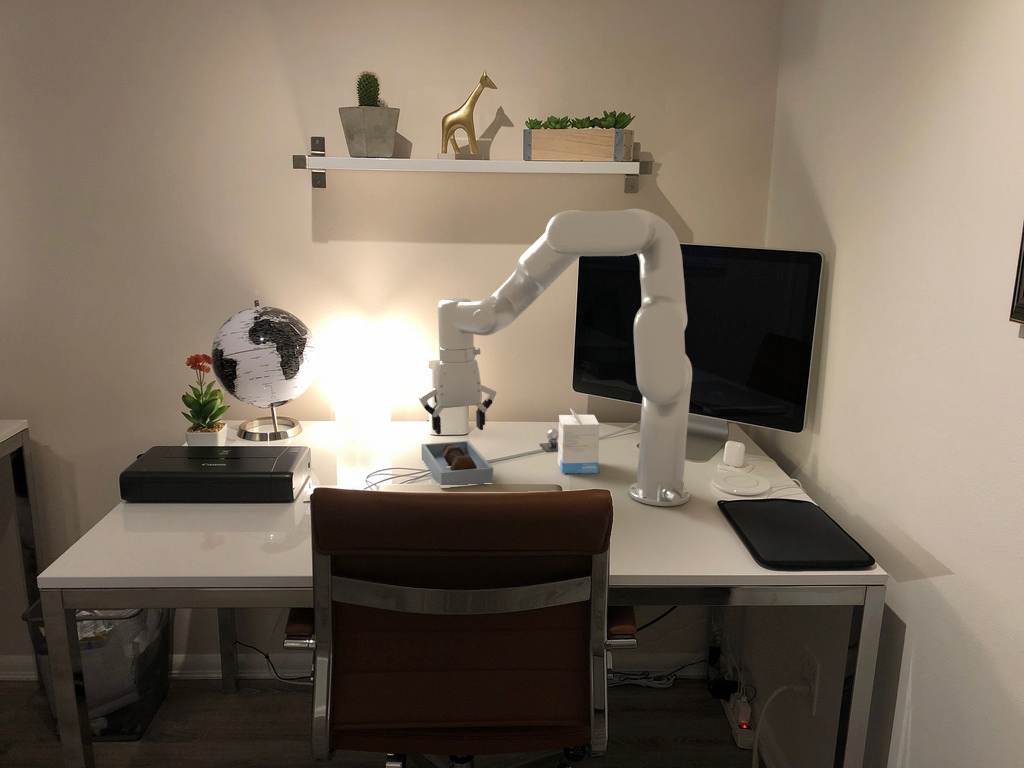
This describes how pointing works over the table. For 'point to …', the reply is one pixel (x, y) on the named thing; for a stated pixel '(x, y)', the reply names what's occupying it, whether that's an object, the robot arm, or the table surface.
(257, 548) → the table surface
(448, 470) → the parts tray
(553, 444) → the ball stud
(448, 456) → the bolt
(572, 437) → the ink box
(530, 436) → the table surface
